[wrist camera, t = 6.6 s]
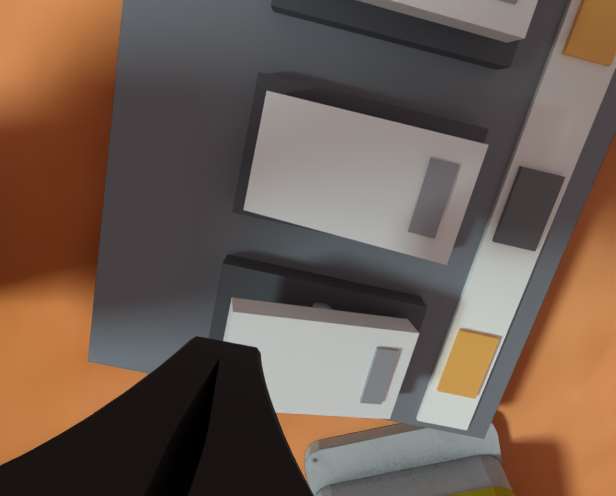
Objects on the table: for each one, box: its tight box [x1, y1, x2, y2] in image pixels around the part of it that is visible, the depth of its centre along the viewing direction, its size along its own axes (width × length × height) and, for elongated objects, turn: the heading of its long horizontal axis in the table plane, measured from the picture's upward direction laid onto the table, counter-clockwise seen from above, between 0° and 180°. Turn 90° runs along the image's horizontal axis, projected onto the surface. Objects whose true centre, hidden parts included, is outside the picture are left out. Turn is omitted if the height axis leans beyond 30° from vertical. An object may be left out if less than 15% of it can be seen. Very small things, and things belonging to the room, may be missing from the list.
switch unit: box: [88, 0, 616, 439], centre depth 16 cm, size 17×20×4 cm
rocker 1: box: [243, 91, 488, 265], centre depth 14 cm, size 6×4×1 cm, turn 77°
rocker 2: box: [223, 298, 419, 419], centre depth 16 cm, size 6×4×1 cm, turn 76°
